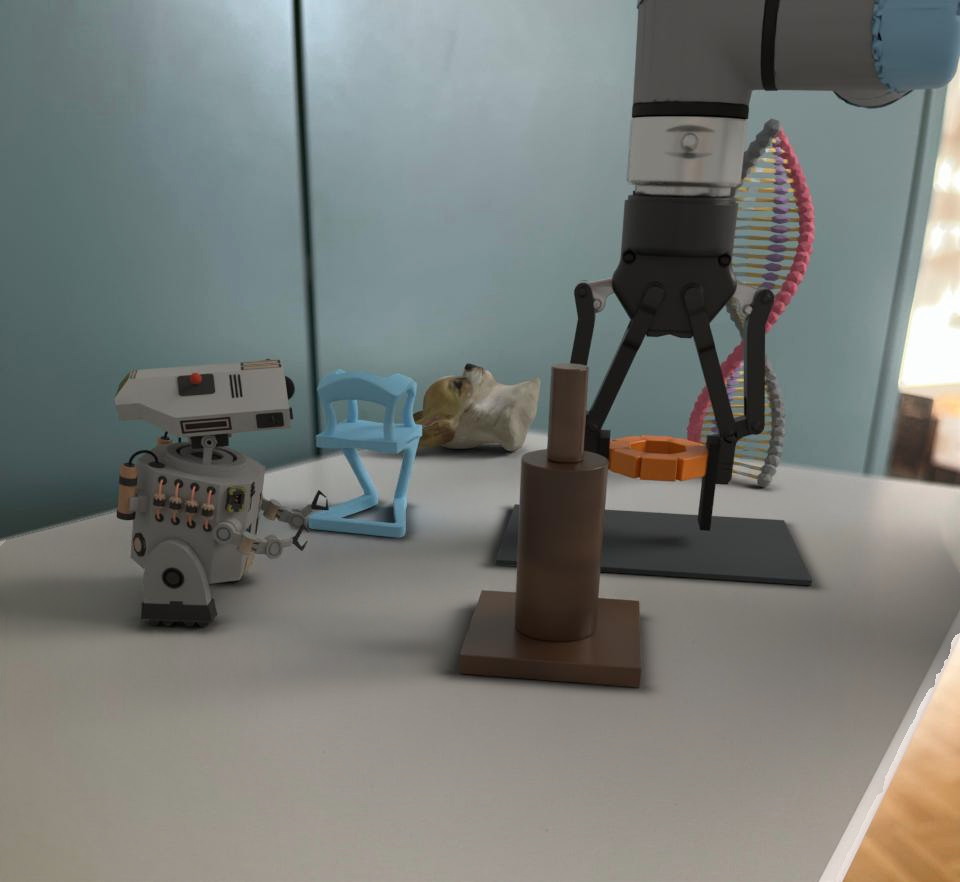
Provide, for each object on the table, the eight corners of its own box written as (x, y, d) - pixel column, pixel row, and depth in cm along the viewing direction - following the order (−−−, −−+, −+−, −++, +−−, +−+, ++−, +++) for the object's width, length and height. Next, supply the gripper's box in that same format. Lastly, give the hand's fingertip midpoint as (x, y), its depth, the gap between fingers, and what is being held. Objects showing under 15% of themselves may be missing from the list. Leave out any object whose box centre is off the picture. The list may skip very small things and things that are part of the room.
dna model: (722, 461, 103) (763, 125, 91) (798, 481, 97) (853, 123, 85) (662, 474, 98) (697, 119, 85) (739, 496, 91) (788, 116, 79)
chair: (433, 508, 86) (433, 360, 81) (402, 538, 79) (400, 378, 74) (345, 499, 88) (341, 354, 83) (307, 528, 80) (299, 371, 75)
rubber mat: (783, 524, 84) (784, 519, 84) (811, 585, 72) (812, 580, 71) (514, 508, 87) (514, 503, 86) (495, 564, 74) (495, 559, 74)
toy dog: (536, 370, 96) (378, 373, 98) (537, 462, 100) (385, 463, 102) (543, 354, 106) (400, 357, 108) (544, 438, 109) (405, 440, 111)
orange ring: (702, 458, 80) (704, 438, 79) (709, 483, 73) (711, 461, 72) (608, 453, 80) (609, 433, 80) (606, 478, 74) (608, 456, 73)
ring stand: (637, 617, 66) (662, 355, 59) (640, 687, 56) (669, 387, 50) (481, 606, 67) (488, 348, 60) (458, 673, 58) (463, 378, 51)
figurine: (306, 633, 62) (294, 379, 56) (116, 625, 62) (84, 373, 56) (331, 579, 71) (323, 353, 64) (164, 573, 71) (140, 348, 65)
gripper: (527, 188, 67) (514, 528, 76) (847, 196, 64) (794, 546, 74) (536, 187, 73) (523, 500, 83) (826, 195, 71) (779, 515, 81)
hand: (651, 521), depth 78 cm, fingers closed on orange ring, 7 cm apart
